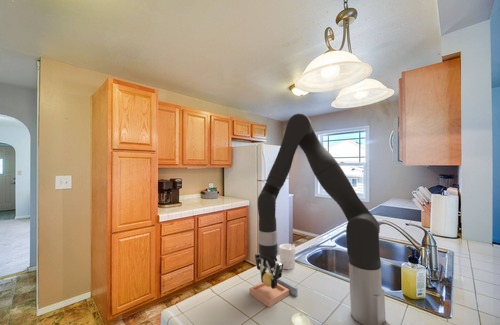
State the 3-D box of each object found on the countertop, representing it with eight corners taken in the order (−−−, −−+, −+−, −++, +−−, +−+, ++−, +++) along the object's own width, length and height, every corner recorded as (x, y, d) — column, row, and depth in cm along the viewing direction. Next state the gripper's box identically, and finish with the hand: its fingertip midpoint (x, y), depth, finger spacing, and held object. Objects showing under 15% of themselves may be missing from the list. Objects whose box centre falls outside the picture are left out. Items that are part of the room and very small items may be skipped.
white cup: (294, 263, 107) (294, 243, 108) (296, 270, 99) (296, 249, 100) (279, 262, 108) (278, 243, 108) (280, 270, 100) (279, 249, 100)
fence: (297, 295, 80) (297, 287, 80) (296, 296, 79) (295, 288, 79) (270, 280, 92) (269, 273, 92) (268, 280, 91) (268, 273, 91)
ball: (278, 286, 81) (277, 273, 81) (268, 291, 78) (268, 277, 78) (269, 280, 85) (268, 268, 85) (260, 285, 82) (259, 272, 82)
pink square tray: (289, 294, 81) (289, 289, 81) (269, 307, 74) (269, 301, 74) (269, 283, 89) (269, 278, 89) (249, 293, 82) (249, 288, 82)
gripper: (288, 243, 79) (289, 289, 78) (262, 234, 90) (263, 274, 90) (274, 249, 74) (275, 297, 74) (249, 239, 85) (250, 280, 85)
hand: (268, 284), depth 82 cm, fingers closed on ball, 5 cm apart
